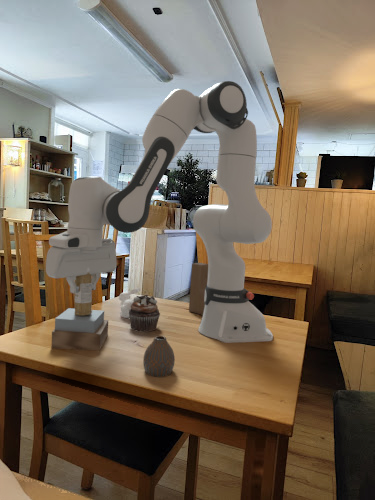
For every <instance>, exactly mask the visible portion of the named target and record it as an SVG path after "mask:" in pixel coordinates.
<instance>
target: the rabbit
mask: <svg viewBox="0 0 375 500" xmlns="http://www.w3.org/2000/svg"><path fill="white" fill-rule="evenodd" d="M140 290H141V288H140V287H136V288H132V289H131V290H130V291H124V292H121V293H120V294H119V295H118V300H119V301H121V302H120V313H119V314H120V317H121V318H124V319H130V318H129V310H130V309H131V305H132V303H133V302H134V299H132V297H131V295H133V294H137V293H139V292H140Z"/></svg>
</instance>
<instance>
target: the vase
mask: <svg viewBox="0 0 375 500" xmlns="http://www.w3.org/2000/svg"><path fill="white" fill-rule="evenodd" d="M175 361H176V360H175V352H174V350H173V348H172V347H171V345H170V344H169V342H168V340H167V337H165V336H164V335H157V336H155V337H154V338H153V340H152V341H151V343H150V344H149V345H148V347H146V350H145V352H144V354H143V363H142V364H143V368H144V371H145V373H146V374H147V375H149V376H152V377H158V378H159V377H161V378H162V377H166V376H170V375H171V373H172V372H173V370H174V367H175Z"/></svg>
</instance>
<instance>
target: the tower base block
mask: <svg viewBox="0 0 375 500" xmlns="http://www.w3.org/2000/svg"><path fill="white" fill-rule="evenodd" d="M108 331H109V319H104V322H103V323H102V324H101V325H100V326H99V328H98V329H97V330H96V331H95V333H88V332H75V331H62V330H55V328H54V329H53V330H52V331H51V349H57V350H58V349H59V350H60V349H61V350H85V351H86V350H87V351H88V350H89V351H90V350H91V351H101V348H103V345H104V343H105V341H106V339H107V337H108V335H109V334H108V333H109V332H108Z"/></svg>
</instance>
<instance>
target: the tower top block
mask: <svg viewBox="0 0 375 500" xmlns="http://www.w3.org/2000/svg"><path fill="white" fill-rule="evenodd" d="M91 311H92V313H91V314H90V315H83V316H78V315H75V307H74V308H71V307H68V308H66V309H65V310H64V311H63V312H62V313H60V314H59V315H57V316H56V317H55V318H54V319H55V320H54V329H55V330H62V331H75V332H88V333H95V331H96V330H97V329H98V328H99V326H100V325H101V324H102V323H103V322H104V320H105V310H100V309H99V310H97V309H91Z"/></svg>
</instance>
